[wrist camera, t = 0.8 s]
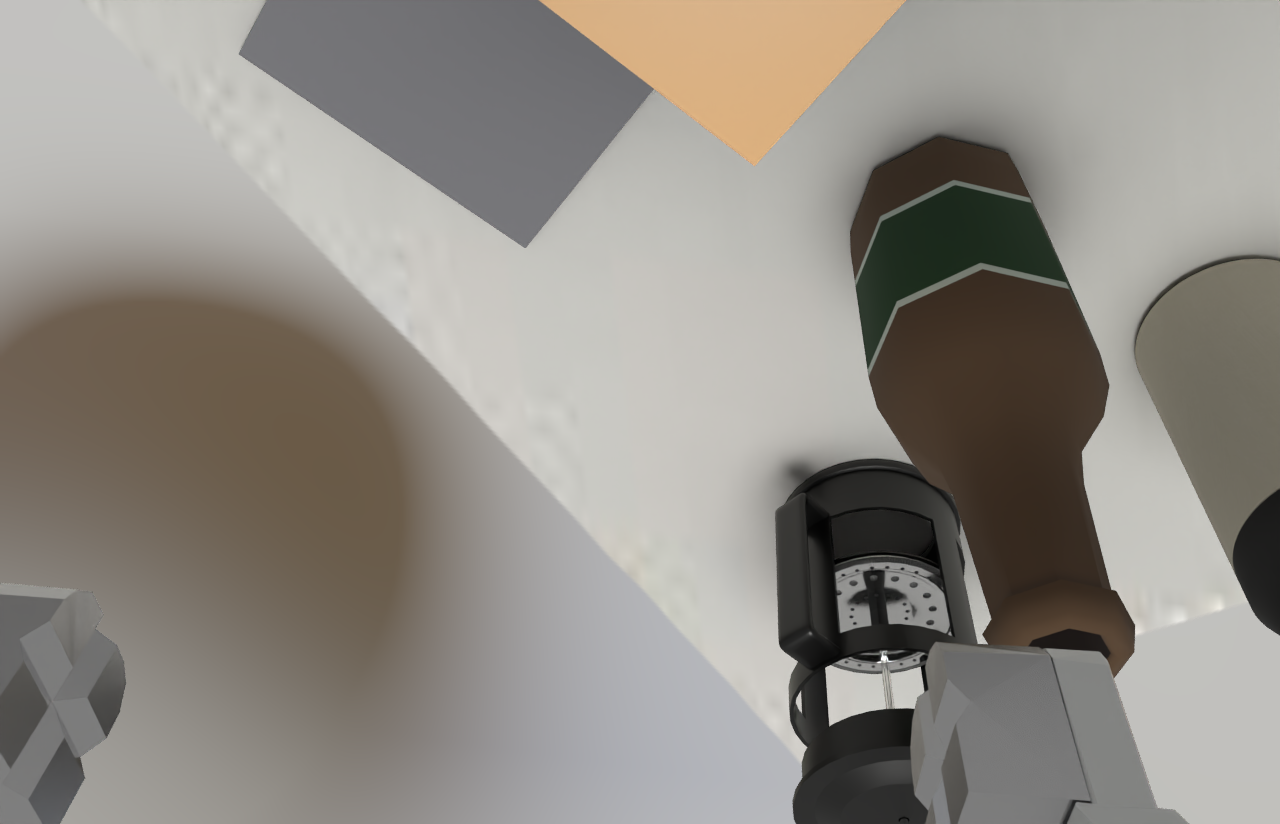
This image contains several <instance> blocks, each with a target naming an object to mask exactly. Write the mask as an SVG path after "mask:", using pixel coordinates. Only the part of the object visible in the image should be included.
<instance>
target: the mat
mask: <svg viewBox="0 0 1280 824" xmlns="http://www.w3.org/2000/svg"><path fill="white" fill-rule="evenodd" d="M239 55H241V56H242V57H244V58H245V59H247V60H248V61H250V62H251V63H253V64H254V65H255V66H257V67H258V68H260V69H261V70H263V71H264V72H266V73H267V74H269V75H270V76H272V77H273V78H275V79H276V80H278V81H279V82H281V83H282V84H284V85H285V86H286V87H288V88H289V89H291V90H292V91H294V92H295V93H297V94H298V95H300V96H301V97H303V98H304V99H306V100H307V101H309V102H310V103H312V104H313V105H315V106H316V107H317V108H319V109H320V110H322V111H323V112H325V113H326V114H328V115H329V116H331V117H332V118H334V119H335V120H337V121H338V122H340V123H341V124H343V125H344V126H346V127H347V128H348V129H350V130H351V131H353V132H354V133H356V134H357V135H359V136H360V137H362V138H363V139H365V140H366V141H368V142H369V143H371V144H372V145H374V146H375V147H377V148H378V149H379V150H381V151H382V152H384V153H385V154H387V155H388V156H390V157H391V158H393V159H394V160H396V161H397V162H399V163H400V164H402V165H403V166H405V167H406V168H408V169H409V170H410V171H412V172H413V173H415V174H416V175H418V176H419V177H421V178H422V179H424V180H425V181H427V182H428V183H430V184H431V185H433V186H434V187H436V188H437V189H439V190H440V191H441V192H443V193H444V194H446V195H447V196H449V197H450V198H452V199H453V200H455V201H456V202H458V203H459V204H461V205H462V206H464V207H465V208H467V209H468V210H470V211H471V212H472V213H474V214H475V215H477V216H478V217H480V218H481V219H483V220H484V221H486V222H487V223H489V224H490V225H492V226H493V227H495V228H496V229H498V230H499V231H501V232H502V233H503V234H505V235H506V236H508V237H509V238H511V239H512V240H514V241H515V242H517V243H518V244H520V245H521V246H523V247H524V248H526V247H527V246H528V244H529V243H530V242H531V241H532V240H533V238H534V237H535V236H536V235H537V233H538V232H539V231H540V230H541V228H542V227H543V226H544V225H545V223H546V222H547V221H548V220H549V218H550V217H551V216H552V215H553V213H554V212H555V211H556V210H557V208H558V207H559V206H560V205H561V203H562V202H563V201H564V200H565V198H566V197H567V196H568V195H569V194H570V192H571V191H572V190H573V189H574V187H575V186H576V185H577V184H578V182H579V181H580V180H581V179H582V177H583V176H584V175H585V174H586V172H587V171H588V170H589V169H590V167H591V166H592V165H593V164H594V162H595V161H596V160H597V159H598V157H599V156H600V155H601V154H602V153H603V151H604V150H605V149H606V148H607V146H608V145H609V144H610V143H611V141H612V140H613V139H614V138H615V136H616V135H617V134H618V133H619V131H620V130H621V129H622V128H623V126H624V125H625V124H626V123H627V121H628V120H629V119H630V118H631V116H632V115H633V114H634V113H635V112H636V110H637V109H638V108H639V107H640V105H641V104H642V103H643V102H644V100H645V99H646V98H647V97H648V95H649V94H650V93H651V92H652V90H653V89H654V88H652V87H651V86H650V85H648V84H647V83H646V82H644V81H643V80H642V79H641V78H639V77H638V76H637V75H635V74H634V73H633V72H631V71H630V70H629V69H628V68H626V67H625V66H624V65H622V64H621V63H620V62H618V61H617V60H616V59H614V58H613V57H612V56H611V55H609V54H608V53H607V52H605V51H604V50H603V49H601V48H600V47H599V46H598V45H596V44H595V43H594V42H592V41H591V40H590V39H588V38H587V37H586V36H585V35H583V34H582V33H581V32H579V31H578V30H577V29H575V28H574V27H573V26H572V25H570V24H569V23H568V22H566V21H565V20H564V19H562V18H561V17H560V16H559V15H557V14H556V13H555V12H553V11H552V10H551V9H549V8H548V7H547V6H546V5H544V4H543V3H542V2H540V1H539V0H267V1H266V3H265V5H264V7H263V9H262V11H261V12H260V14H259V16H258V18H257V20H256V22H255V24H254V26H253V28H252V30H251V31H250V33H249V35H248V37H247V39H246V41H245V43H244V45H243V47H242V48H241V50H240V52H239Z"/></svg>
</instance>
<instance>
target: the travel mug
mask: <svg viewBox="0 0 1280 824" xmlns="http://www.w3.org/2000/svg"><path fill="white" fill-rule="evenodd" d="M1135 358H1136V364H1137V367H1138V370H1139V373H1140V375H1141V377H1142V379H1143V381H1144V383H1145V385H1146V387H1147V390H1148V392H1149V394H1150V396H1151V398H1152V400H1153V402H1154V404H1155V406H1156V408H1157V411H1158V413H1159V415H1160V417H1161V419H1162V421H1163V423H1164V425H1165V427H1166V429H1167V432H1168V434H1169V436H1170V438H1171V440H1172V442H1173V444H1174V446H1175V448H1176V451H1177V453H1178V455H1179V457H1180V459H1181V461H1182V463H1183V465H1184V467H1185V469H1186V472H1187V474H1188V476H1189V478H1190V480H1191V482H1192V484H1193V486H1194V488H1195V490H1196V493H1197V495H1198V497H1199V499H1200V501H1201V503H1202V505H1203V507H1204V509H1205V511H1206V514H1207V516H1208V518H1209V520H1210V522H1211V524H1212V526H1213V528H1214V530H1215V533H1216V535H1217V537H1218V539H1219V541H1220V543H1221V545H1222V547H1223V549H1224V551H1225V554H1226V556H1227V558H1228V560H1229V562H1230V564H1231V566H1232V568H1233V570H1234V572H1235V575H1236V577H1237V579H1238V581H1239V583H1240V585H1241V587H1242V589H1243V591H1244V593H1245V596H1246V598H1247V600H1248V602H1249V604H1250V606H1251V608H1252V610H1253V612H1254V613H1255V615H1256V616H1257V618H1258V619H1259V620H1260V621H1261V622H1262V623H1263V624H1264V625H1265V626H1266V627H1268V628H1269V629H1271V630H1272V631H1274V632H1275V633H1277V634H1279V635H1280V261H1276V260H1269V259H1244V260H1236V261H1231V262H1226V263H1223V264H1219V265H1216V266H1213V267H1210V268H1207V269H1205V270H1202V271H1200V272H1198V273H1196V274H1194V275H1192V276H1190V277H1188V278H1187V279H1185V280H1183V281H1182V282H1180V283H1179V284H1177V285H1176V286H1175V287H1173V288H1172V289H1171V290H1170V291H1168V292H1167V293H1166V294H1165V295H1164V296H1163V297H1162V298H1161V299H1160V300H1159V301H1158V302H1157V303H1156V304H1155V305H1154V306H1153V308H1152V309H1151V310H1150V312H1149V313H1148V315H1147V316H1146V318H1145V320H1144V321H1143V323H1142V325H1141V327H1140V330H1139V333H1138V336H1137V340H1136V346H1135Z"/></svg>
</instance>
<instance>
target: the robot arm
mask: <svg viewBox="0 0 1280 824" xmlns="http://www.w3.org/2000/svg"><path fill="white" fill-rule="evenodd" d="M103 615H104V614H103V612H102V610H101V608H100V607H99V604H98V602H97V600H96V598H95V596H94V594H93V592H89V591H82V590H75V589H64V588H52V587H41V586H30V585H19V584H8V583H0V824H60V823H61V821H62V819H63V817H64V816H65V814H66V812H67V810H68V808H69V806H70V804H71V803H72V801H73V799H74V797H75V795H76V794H77V791H78V790H79V788H80V786H81V784H82V782H83V781H84V779H85V777H84V772H83V767H82V763H81V758H80V757H81V756H82V755H84V754H85V753H86V752H88V751H89V750H91V749H92V748H94V747H95V746H96V745H98V744H99V743H100V742H102V741H103V740H105V739H106V738H107V736H108V734H109V732H110V730H111V728H112V726H113V724H114V722H115V720H116V718H117V716H118V714H119V712H120V708H121V703H122V699H123V694H124V690H125V685H126V679H125V669H124V661H123V659H122V656H121V654H120V651H119V649H118V646H117V645H116V644H115V643H114V642H112V641H111V640H110V639H108V638H107V637H106V636H104V635H103V634H102V633H100V632H99V631H98V630H96V627H97V625H98V624H99V622H100V620H101V619H102V617H103ZM925 670H926V676H927V683H928V689H929V690H927V691H926V692H924V693H923V694H922V695H920V696H919V697H917V701H916V706H915V710H914V715H913V719H912V732H911V746H910V750H911V768H912V778H913V786H914V794H915V796H916V797H917V798H918V799H919V801H920V802H921V803H922V804H923V805H924V806H925V807H926V809H927V810H928V815H927V818H926V822H925V824H1189V823H1188V822H1187V821H1186V820H1185V819H1184V818H1183V817H1182V816H1180V814H1179V813H1177V812H1176V811H1175V810H1172V809H1162V808H1157V805H1156V802H1155V799H1154V796H1153V793H1152V790H1151V787H1150V784H1149V781H1148V778H1147V775H1146V772H1145V769H1144V767H1143V764H1142V761H1141V758H1140V755H1139V752H1138V749H1137V746H1136V743H1135V740H1134V737H1133V734H1132V731H1131V728H1130V725H1129V722H1128V719H1127V716H1126V713H1125V710H1124V707H1123V704H1122V701H1121V699H1120V696H1119V692H1118V689H1117V687H1116V683H1115V681H1114V678H1113V675H1112V672H1111V669H1110V666H1109V663H1108V661H1107V659H1106V658H1105V657H1104V656H1103V655H1102V654H1101V653H1100V652H1097V651H1081V650H1065V649H1048V648H1044V649H1041V648H1040V647H1028V646H1008V645H988V644H968V643H948V642H935V643H934V645H933V646H932V648H931V649H930V652H929V655H928V659H927V662H926V666H925Z"/></svg>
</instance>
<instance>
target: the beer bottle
mask: <svg viewBox="0 0 1280 824" xmlns="http://www.w3.org/2000/svg"><path fill="white" fill-rule="evenodd" d="M850 241H851V257H852V264H853V271H854V278H855V285H856V292H857V299H858V306H859V313H860V320H861V327H862V334H863V341H864V348H865V355H866V362H867V369H868V376H869V380H870V383H871V387H872V391H873V394H874V398H875V401H876V405H877V408H878V410H879V411H880V413H881V414H882V416H883V417H884V419H885V421H886V422H887V424H888V425H889V427H890V428H891V430H892V431H893V433H894V435H895V436H896V438H897V439H898V441H899V442H900V444H901V446H902V447H903V449H904V450H905V452H906V453H907V455H908V457H909V458H910V460H911V461H912V463H913V464H914V465H915V467H916V468H917V469H918V470H919V472H920V473H921V474H922V475H923V476H924V478H925V479H926V480H927V481H928V482H929V484H931V485H933V486H935V487H938V488H940V489H942V490H944V491H946V492H948V493H950V494H953V497H954V500H955V503H956V506H957V510H958V513H959V516H960V519H961V522H962V526H963V529H964V532H965V535H966V538H967V542H968V545H969V548H970V551H971V554H972V558H973V561H974V564H975V567H976V571H977V574H978V577H979V580H980V583H981V587H982V590H983V593H984V596H985V599H986V603H987V606H988V609H989V612H990V615H991V619H992V620H991V621H990V623H989V624H988V626H987V628H986V629H985V631H984V632H983V634H982V635H983V636H984V638H985V640H986V641H987V643H988V645H1008V646H1028V647H1040V648H1041V649H1044V648H1048V649H1065V650H1081V651H1097V652H1100V653H1101V654H1102V655H1103V656H1104V657H1105V658H1106V659H1107V661H1108V663H1109V666H1110V669H1111V672H1112V675H1113V678H1114V677H1115V676H1116V675H1117V674H1118V672H1119V671H1120V670H1121V668H1122V667H1123V666H1124V664H1125V663H1126V662H1127V661H1128V659H1129V658H1130V657H1131V656H1132V654H1133V653H1134V643H1135V624H1134V623H1133V621H1132V619H1131V617H1130V615H1129V613H1128V612H1127V610H1126V608H1125V606H1124V604H1123V602H1122V601H1121V599H1120V597H1119V595H1118V593H1117V592H1116V591H1114V590H1111V587H1110V583H1109V579H1108V576H1107V572H1106V568H1105V564H1104V560H1103V556H1102V552H1101V549H1100V545H1099V541H1098V537H1097V533H1096V529H1095V525H1094V521H1093V518H1092V514H1091V510H1090V506H1089V502H1088V498H1087V494H1086V491H1085V487H1084V478H1083V465H1082V451H1083V449H1084V447H1085V446H1086V444H1087V443H1088V441H1089V439H1090V438H1091V436H1092V434H1093V433H1094V431H1095V430H1096V428H1097V426H1098V425H1099V423H1100V421H1101V420H1102V418H1103V417H1104V412H1105V406H1106V401H1107V395H1108V390H1109V383H1108V379H1107V376H1106V372H1105V369H1104V366H1103V362H1102V359H1101V355H1100V352H1099V350H1098V348H1097V346H1096V343H1095V341H1094V339H1093V336H1092V334H1091V332H1090V329H1089V327H1088V325H1087V323H1086V320H1085V318H1084V316H1083V313H1082V311H1081V309H1080V307H1079V304H1078V302H1077V300H1076V297H1075V295H1074V293H1073V291H1072V288H1071V286H1070V284H1069V281H1068V279H1067V277H1066V275H1065V272H1064V270H1063V268H1062V265H1061V263H1060V261H1059V259H1058V256H1057V254H1056V252H1055V249H1054V247H1053V245H1052V243H1051V240H1050V238H1049V236H1048V233H1047V231H1046V229H1045V227H1044V225H1043V223H1042V220H1041V218H1040V216H1039V214H1038V212H1037V210H1036V208H1035V206H1034V204H1033V202H1032V199H1031V197H1030V195H1029V193H1028V191H1027V189H1026V187H1025V185H1024V183H1023V181H1022V178H1021V176H1020V174H1019V172H1018V170H1017V168H1016V167H1015V165H1014V163H1013V162H1012V160H1011V158H1010V157H1009V155H1008V153H1004V152H1000V151H996V150H992V149H988V148H983V147H979V146H975V145H971V144H967V143H962V142H958V141H954V140H950V139H946V138H941V137H937V138H935V139H934V140H932V141H930V142H928V143H926V144H924V145H922V146H920V147H918V148H916V149H914V150H912V151H910V152H908V153H906V154H904V155H903V156H901V157H899V158H897V159H895V160H893V161H891V162H889V163H887V164H885V165H883V166H881V167H879V168H877V169H875V170H874V171H873V172H872V175H871V178H870V180H869V183H868V186H867V188H866V191H865V194H864V196H863V199H862V202H861V204H860V207H859V210H858V212H857V215H856V218H855V220H854V223H853V226H852V228H851V231H850Z"/></svg>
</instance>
